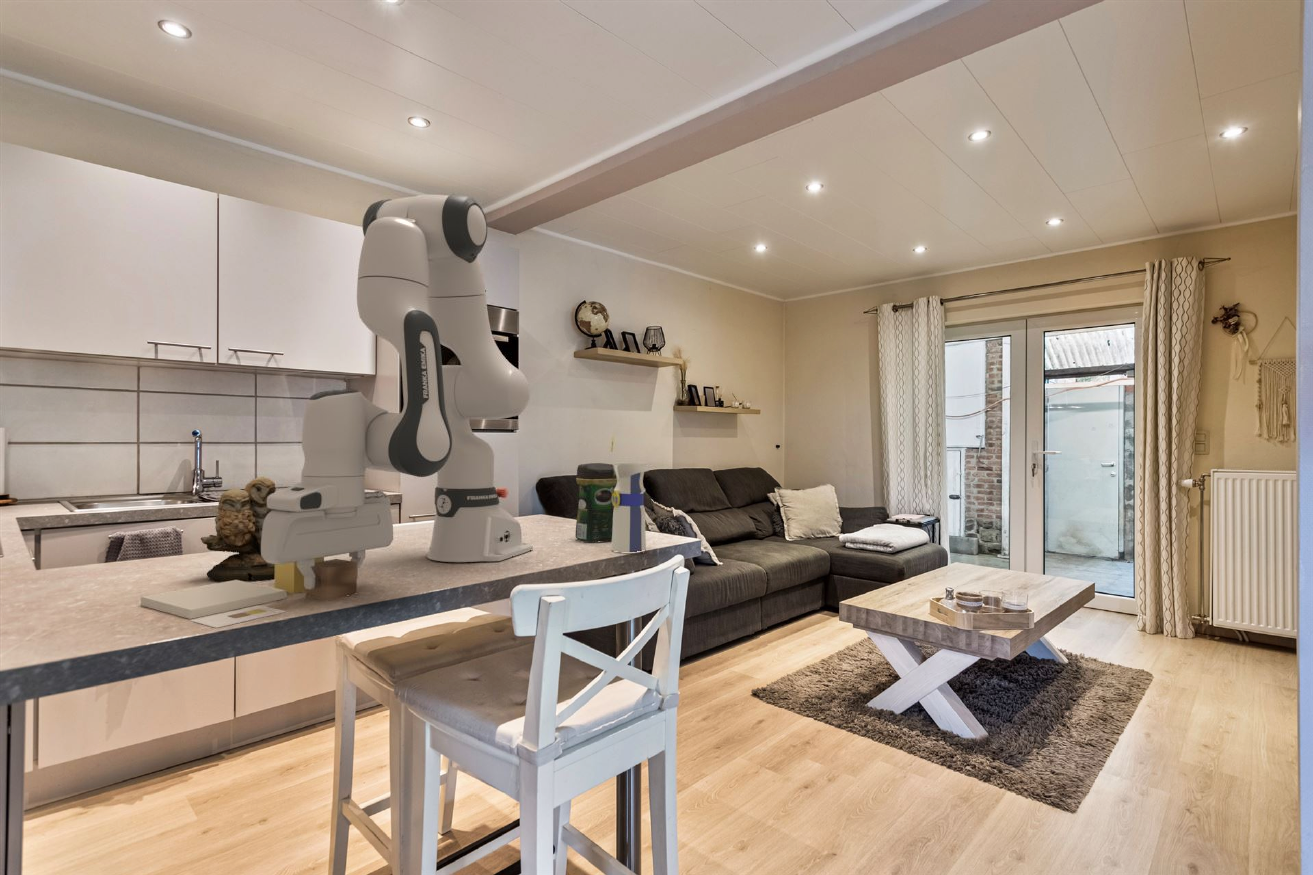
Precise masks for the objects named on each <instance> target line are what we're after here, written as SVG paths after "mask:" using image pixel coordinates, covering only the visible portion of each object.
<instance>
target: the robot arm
mask: <svg viewBox="0 0 1313 875" xmlns="http://www.w3.org/2000/svg"><path fill="white" fill-rule="evenodd" d="M362 233H363V237H364V238H363V242H362V247H361V252H360V255H359V257H360V258H359V260H358V262H359V263H358V268H357V269H358V271H357V281H356V282H357V286H356V305H357V311H358V315H359V318H360V320H361V322H362V323H363V324H364V326H365V327H366V328H368V330H370V332H372V333H373V334H374V335H376V336H377V337H380V338H382V339H383V340H385V341H387V342H389V343H390V344H391V345H392V346H393V347H394V348H395V349H396V351H397V353H398V355H399V358H400V364H401V377H402V379H401V380H402V395H403V407H402V411H401V412H398V413H397V412H389V410H386V409H384V408H383V407H380V406H378V405H376V404H374V403H373V402H372V401H370V400H369V399H367V398H366V397H365V396H364V395H363V393H362V391H360V390H357V389H353V388H352V389H351V388H345V389H334V390H333V389H332V390H325V391H319V392H316V393H314V394H312V395H311V396H310V397H309V398H308V400H307V402H306V404H305V407H304V413H303V418H302V430H301V432H302V433H301V435H302V436H301V448H302V451H303V456H304V463H303V467H302V469H301V473H300V474H301V476H300V477H301V479H300V480H301V481H300V482H298V483H296V484H294V485H291V486H289V487H288V486H287V488H284V489H281V490H278V491H275V493H273V494H271V495H269V496H268V497H267V507H268V508H269V509H274V510H273V511H271V512H270V513H268V515H267V516H266V518H265V520H264V523H263V529H262V538H261V555H262V557H263V559H264V560H265V561H266V562H268V563H272V564H286V563H292V562H297V567H298V569H299V570H300V572H301V573H302V575H303V576H304V587H305V588H306V589H314V588H319V587H320V586H321V583H320V581H321V576H316V575H315V574H314V572H313V570H312V569H311V566H314V561H315V559H316V558H322V557H324V558H326V557H327V558H328V557H332V556H338V555H339V556H340V555H345V554H348V556H349V558H351V559H350V561H352V562H357V580H359V570H360V568H361V566H362V564H363V562H364V560H365V559H366V551H368V550H369V551H370V550H375V549H379V548H388V547H390V546H391V544H392V542H393V540H394V526H393V516H392V510H391V498H390V497H389V495H388V494H386V493H384V491H382V490H375V491H366V469H370V470H374V471H383V472H389V473H398V474H399V473H401V474H405V475H409V476H413V477H418V478H426V477H430V476H432V475H434V474H436V473H437V480H436V481H437V482H436V483H437V484H436V487H435V488H434V496H433V497H434V505H435V516H434V521H433V528H432V536H431V541H430V546H429V549H428V554H427V556H426V557H427V558H428V559H429V560H431V561H437V562H438V561H439V562H445V563H447V562H448V563H468V562H469V563H473V562H474V563H475V562H500V561H503V560H507V559H510V558H513V557H516V556H519V555H522V554H525V553H528V552H530V550H531V551H533V550H534V549H533V548H534V547H533V545H532V544H530V543H525V542H523V541H522V539H523V538H522V527H521V524H520V522H519V521H518V520H517V519H516V518H515V517H514V516H513V515H511V514H510V513H509V512H508V511H507V510H506V509H505V508H503V507H502V506H501V504H500V499H499V498H502V499H506V498H508V496H509V490H508V488H498V487H497V489H496V487H495V486H494V483H495V481H494V479H495V478H494V477H495V476H494V475H495V452H494V451H493V450H494V449H493V448H492V447H491V445H490V444H489V443H488V442H487V441H485V440H483V439H482V438H480V437H478V435H477V436H476V435H475V434H474V432H473V430H472V428H471V425H470V420H502V419H507V418H512V417H517V416H520V415H521V414H522V413H523V412H524V410H525V409H526V408H527V406H528V404H529V400H530V396H531V395H530V394H531V391H530V385H529V382H528V379H527V378H526V376H525V375H524V373H523V372H522V371H521V370H520V369H518V368H517V367H515V366H514V365H513V364H512V363H511V362H509V360H508V359H506V357H505V355H503V354H502V352H501V350H500V349H499V347H498V345H497V343H496V341H495V340H494V337H493V333H492V329H491V325H490V319H489V313H488V305H487V304H488V303H487V295H486V287H485V279H484V274H483V268H482V266H481V265H482V264H481V260H480V258H479V254H480V253H481V252H482V251H483V248H484V246H485V244H486V242H487V237H488V224H487V218H486V216H485V212H484V211H483V208H482V206H480V204H479V203H478V202H477V201H476V200H475V199H474V198H473V197H470V196H468V195H464V194H463V195H462V194H456V193H455V194H454V193H452V194H450V195H446V194H417V195H416V196H406V197H400V198H396V199H392V198H386V199H385V198H384V199H382V200H379V201H376V202H374V203H372V204H370V206H368V208H367V209H366V211H365V213H364V214H363V218H362ZM441 345H442V346H444V347H446V348H448V349H449V350H451V351H452V352H453V353H454V354H455V355H456V357H457V359H458V360H459V363H460V365H456V364H450V365H449V364H446V365H445V364H444V365H443V361H442V348H441ZM512 556H513V557H512Z"/></svg>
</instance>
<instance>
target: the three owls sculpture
mask: <svg viewBox="0 0 1313 875" xmlns="http://www.w3.org/2000/svg"><path fill="white" fill-rule="evenodd" d="M275 492H277V488H276V483H275V481H274V480H272V479H270V478H269V477H265V476H258V477H256V478H254V479H251V480H250V481H249V482H248V483H247V484H246V485H245V487H244V490H242V489H240V488H231V489H228V490H226V491H224V492H222V494H221V495H220V498H219V501H218V505H217V506H218V507H217V510H218V511H217V513H218V515H217V516H215V518H214V522H215V523H214V524H215V532H216V534H215V535H214V534H210V535H208V536H202V537H200V540H201V542H202V544H203V545H206V548H207V550H208V551H213V552H223V553H225V552H226V553H227V552H228V553H234V554H231V555H229V556H228V557H226V558H225V559H222V561H220V562H219V563H217V564H216V565H214V566H213V567H212V568H211V569H210V570H208V571H207V572H206V576H207V578H209V580H211V581H214V582H216V583H222V582H227V581H233V580H239V581H244V582H248V581H249V574H250V575H251V577H250V580H252V581H254V582H260V581H261V582H262V581H271V580H273V581H274V580H275V564H272V563H268V562H266V561H265V560H264V559H263V557H262V555H261V538H262V529H263V523H264V520H265V518H266V516H267V515H268V513H270V512H271V511H273V510H274V509H269V508H268V507H267V497H268V496H269V495H271V494H273V493H275Z"/></svg>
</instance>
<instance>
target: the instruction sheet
mask: <svg viewBox="0 0 1313 875" xmlns="http://www.w3.org/2000/svg"><path fill="white" fill-rule="evenodd" d="M283 613H286V611H285V610H281V609H277V608H272V607H270V606H269V607H268V606H265V605H262V604H258V605H253V606H249V607H244V608H239V609H235V610H230V611H225V612H221V613H216V614H212V615H207V616H202V617H198V618H193V619H190V622H192V623H196V624H199V625H204V626H207V627H211V628H214V629H219V628H222V627H223V628H224V627H227V626H232V625H236V624H240V623H245V622H249V621H254V620H257V619H262V618H267V617H269V616H270V617H271V616H275V615H277V614H283Z"/></svg>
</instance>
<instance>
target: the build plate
mask: <svg viewBox="0 0 1313 875" xmlns="http://www.w3.org/2000/svg"><path fill="white" fill-rule="evenodd" d="M286 599H287V592H286V590H282V589H277V588H274V587H271V586H266V585H263V584H257V583H252V582H248V581H246V582H244V581H239V580H233V581H227V582H216V583H211V584H205V585H200V586H194V587H189V588H183V589H178V590H173V591H172V590H171V591H166V592H161V593H155V594H150V595H149V594H148V595H144V596H141V597H140V606H142V607H147V608H149V609H153V610H157V611H161V612H164V613H166V614H167V613H168V614H172V615H174V616H178V617H183V618H185V619H189V620H194V619H199V618H203V617H208V616H212V615H217V614H222V613H226V612H231V611H236V610H240V609H245V608H249V607H254V606H259V605H262V604H266V603H271V602H276V601H280V600H281V601H282V600H286Z"/></svg>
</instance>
